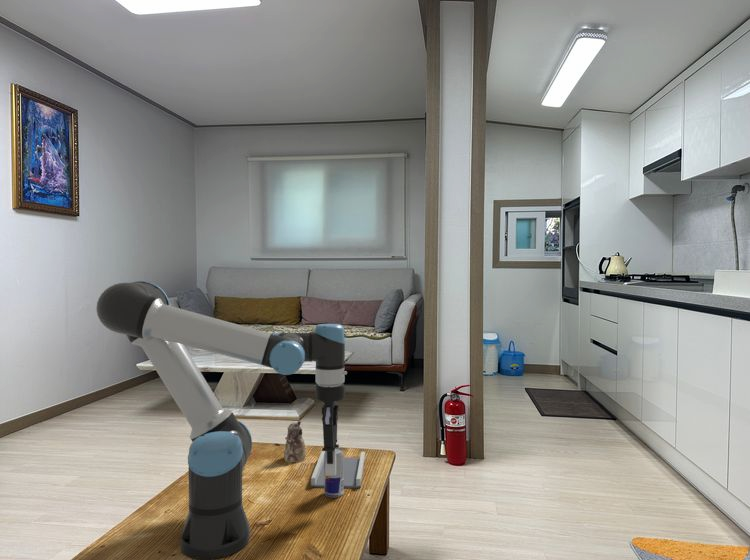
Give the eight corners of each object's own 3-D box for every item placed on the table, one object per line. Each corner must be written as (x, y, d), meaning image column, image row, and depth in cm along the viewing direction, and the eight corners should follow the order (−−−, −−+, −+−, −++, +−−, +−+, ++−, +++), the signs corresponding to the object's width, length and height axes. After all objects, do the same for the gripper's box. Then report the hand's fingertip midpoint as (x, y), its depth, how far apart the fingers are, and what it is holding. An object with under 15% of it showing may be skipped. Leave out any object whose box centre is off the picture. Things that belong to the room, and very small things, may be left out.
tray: (360, 488, 145) (360, 479, 145) (310, 487, 146) (310, 478, 146) (364, 459, 167) (364, 451, 167) (321, 459, 168) (321, 451, 167)
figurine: (279, 459, 167) (279, 422, 167) (295, 453, 173) (295, 418, 173) (293, 464, 163) (293, 427, 163) (310, 458, 168) (310, 422, 168)
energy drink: (320, 493, 141) (320, 450, 141) (335, 488, 145) (335, 446, 145) (333, 499, 138) (333, 455, 137) (347, 493, 141) (347, 450, 141)
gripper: (341, 389, 125) (342, 485, 126) (347, 378, 138) (347, 465, 139) (311, 389, 126) (312, 484, 126) (319, 378, 139) (320, 464, 139)
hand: (330, 474), depth 132 cm, fingers closed
